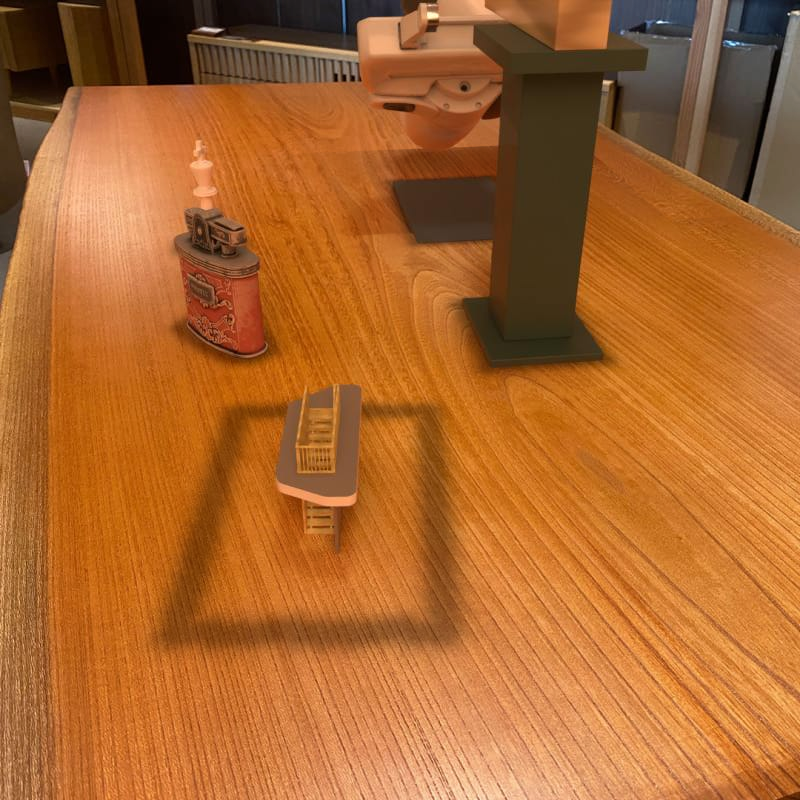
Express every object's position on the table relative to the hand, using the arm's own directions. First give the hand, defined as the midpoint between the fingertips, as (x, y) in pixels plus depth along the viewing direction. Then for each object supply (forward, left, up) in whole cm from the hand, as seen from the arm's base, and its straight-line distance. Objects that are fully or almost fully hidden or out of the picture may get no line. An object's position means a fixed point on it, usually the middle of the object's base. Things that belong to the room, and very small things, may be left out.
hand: (488, 10), depth 67 cm
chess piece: (+24, -1, -20) cm, 31 cm away
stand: (0, +19, -20) cm, 27 cm away
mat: (0, -8, -20) cm, 22 cm away
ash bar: (0, +15, +1) cm, 14 cm away
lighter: (+22, +17, -20) cm, 34 cm away
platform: (+16, +37, -20) cm, 45 cm away
